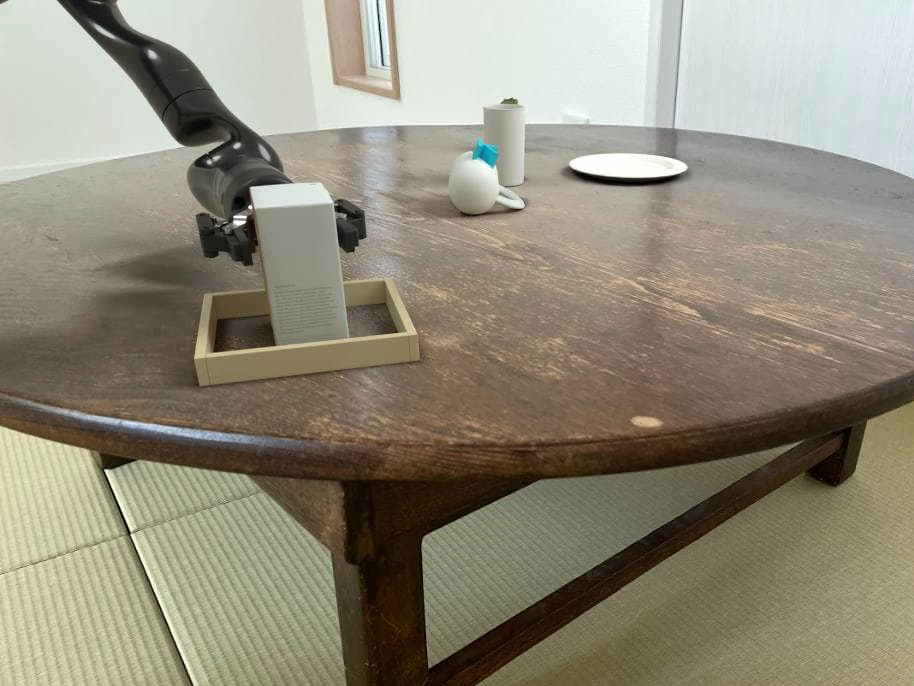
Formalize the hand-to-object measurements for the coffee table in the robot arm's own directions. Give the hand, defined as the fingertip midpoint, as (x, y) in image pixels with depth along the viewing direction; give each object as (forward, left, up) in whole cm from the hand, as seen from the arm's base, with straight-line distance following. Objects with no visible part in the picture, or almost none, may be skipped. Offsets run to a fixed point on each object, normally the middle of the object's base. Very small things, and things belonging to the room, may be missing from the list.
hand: (299, 247), depth 67 cm
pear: (+44, +90, -10) cm, 100 cm away
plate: (+58, +64, -10) cm, 87 cm away
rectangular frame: (0, +2, -9) cm, 10 cm away
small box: (0, +2, -9) cm, 9 cm away
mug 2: (+28, +46, -10) cm, 54 cm away
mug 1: (+35, +64, -10) cm, 73 cm away
